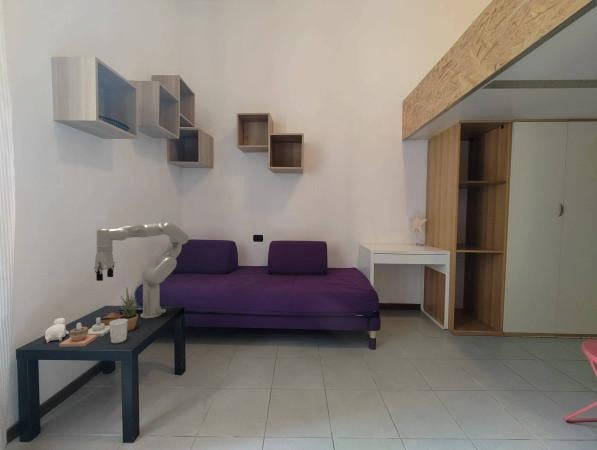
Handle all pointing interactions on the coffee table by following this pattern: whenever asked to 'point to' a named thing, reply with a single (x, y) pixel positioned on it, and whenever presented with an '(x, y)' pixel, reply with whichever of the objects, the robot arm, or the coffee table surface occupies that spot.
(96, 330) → the stand
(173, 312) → the coffee table surface
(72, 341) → the hub post
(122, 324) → the white cup
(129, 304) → the potted plant
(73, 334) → the birch ring
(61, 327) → the white figurine
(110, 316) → the sunglasses case
